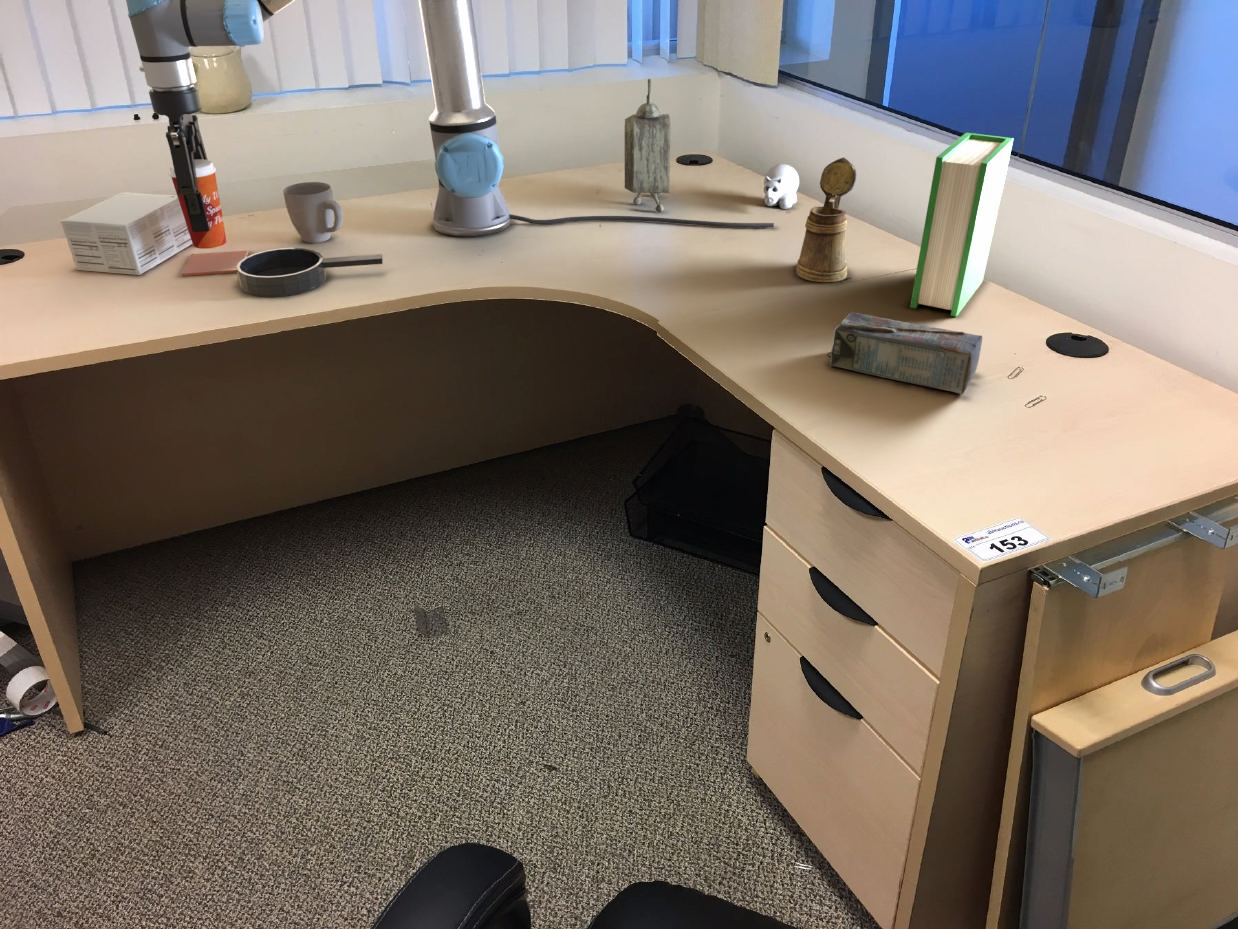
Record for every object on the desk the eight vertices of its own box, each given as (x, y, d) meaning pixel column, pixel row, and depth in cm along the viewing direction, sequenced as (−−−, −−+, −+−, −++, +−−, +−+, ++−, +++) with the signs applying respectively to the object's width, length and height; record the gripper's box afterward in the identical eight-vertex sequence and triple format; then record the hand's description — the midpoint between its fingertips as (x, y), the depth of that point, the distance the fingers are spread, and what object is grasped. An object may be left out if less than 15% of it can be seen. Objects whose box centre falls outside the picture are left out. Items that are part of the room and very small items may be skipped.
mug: (282, 241, 181) (272, 191, 175) (315, 228, 187) (307, 179, 182) (329, 251, 176) (320, 200, 171) (361, 237, 182) (354, 188, 177)
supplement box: (134, 239, 182) (120, 190, 177) (195, 243, 180) (183, 195, 174) (74, 270, 168) (57, 219, 163) (140, 275, 166) (125, 223, 161)
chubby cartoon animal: (748, 214, 194) (751, 172, 189) (769, 198, 203) (772, 158, 198) (782, 219, 191) (785, 176, 186) (801, 203, 200) (805, 162, 195)
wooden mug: (856, 259, 171) (870, 159, 161) (841, 285, 161) (855, 179, 151) (807, 253, 174) (818, 154, 164) (790, 278, 164) (800, 174, 154)
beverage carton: (845, 346, 140) (851, 305, 137) (977, 374, 133) (987, 331, 129) (828, 367, 135) (833, 324, 131) (965, 398, 127) (975, 354, 123)
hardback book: (956, 316, 150) (987, 163, 137) (910, 307, 153) (936, 156, 140) (982, 281, 162) (1013, 138, 149) (939, 273, 165) (966, 132, 153)
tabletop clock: (668, 215, 193) (671, 86, 180) (624, 215, 193) (624, 86, 180) (666, 194, 205) (669, 72, 192) (625, 194, 205) (625, 72, 192)
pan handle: (382, 259, 166) (382, 253, 165) (382, 264, 164) (381, 258, 163) (324, 263, 164) (323, 257, 164) (323, 268, 162) (322, 262, 162)
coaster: (248, 253, 175) (247, 250, 175) (240, 272, 167) (240, 269, 167) (192, 256, 174) (191, 254, 173) (181, 276, 165) (180, 273, 165)
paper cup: (217, 252, 164) (198, 171, 157) (178, 249, 166) (157, 168, 158) (241, 237, 171) (223, 159, 163) (203, 234, 172) (184, 156, 164)
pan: (328, 264, 170) (325, 245, 168) (323, 293, 159) (319, 273, 157) (247, 269, 168) (242, 250, 166) (235, 300, 156) (230, 280, 154)
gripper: (161, 75, 162) (193, 206, 174) (133, 100, 145) (171, 244, 157) (207, 74, 163) (236, 204, 175) (184, 98, 146) (218, 241, 158)
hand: (205, 223), depth 166 cm, fingers closed on paper cup, 8 cm apart
